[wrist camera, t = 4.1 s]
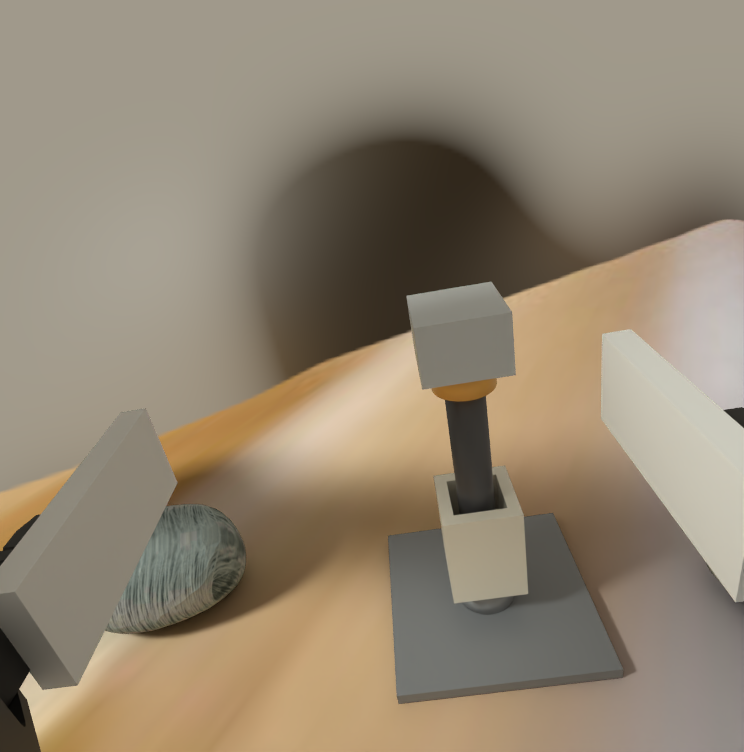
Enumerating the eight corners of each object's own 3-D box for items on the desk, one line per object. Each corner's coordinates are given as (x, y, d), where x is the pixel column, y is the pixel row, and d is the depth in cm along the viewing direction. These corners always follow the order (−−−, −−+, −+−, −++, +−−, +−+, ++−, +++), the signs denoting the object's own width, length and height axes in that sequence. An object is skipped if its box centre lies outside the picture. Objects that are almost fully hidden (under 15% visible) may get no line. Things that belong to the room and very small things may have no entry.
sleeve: (528, 593, 37) (523, 514, 33) (454, 603, 37) (442, 526, 34) (510, 539, 41) (504, 465, 38) (444, 548, 41) (433, 476, 38)
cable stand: (622, 677, 34) (644, 332, 23) (398, 703, 35) (320, 383, 24) (552, 520, 46) (546, 248, 35) (389, 542, 47) (335, 284, 36)
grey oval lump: (259, 503, 50) (193, 462, 42) (271, 612, 44) (197, 588, 36) (132, 551, 52) (47, 521, 44) (128, 661, 46) (28, 648, 38)
